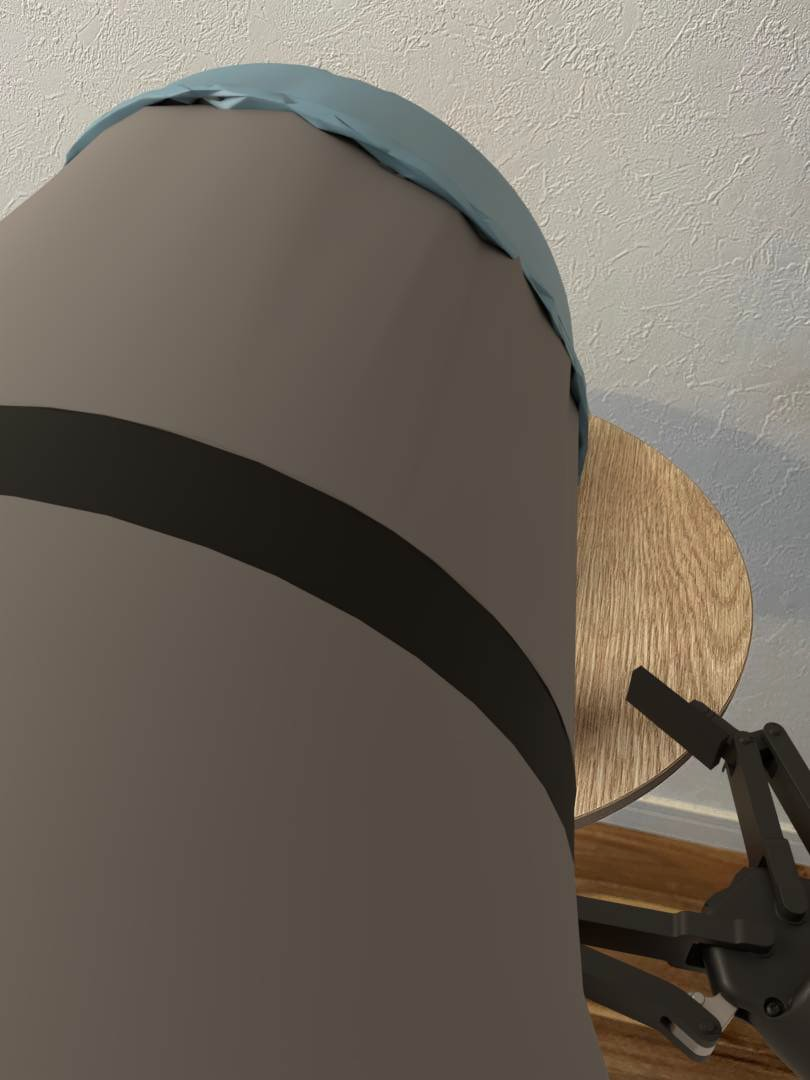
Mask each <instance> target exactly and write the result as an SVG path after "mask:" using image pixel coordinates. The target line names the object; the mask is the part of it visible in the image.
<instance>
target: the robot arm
mask: <svg viewBox="0 0 810 1080" xmlns="http://www.w3.org/2000/svg"><path fill="white" fill-rule="evenodd" d="M572 325H573V324H572V315H571V309H570V306H569V299H568V295H567V292H566V289H565V286H564V283H563V279H562V277H561V273H560V270H559V268H558V264H557V262H556V260H555V258H554V254H553V252H552V250H551V247H550V245H549V243H548V241H547V239H546V238H545V236H544V234H543V231H542V230H541V228H540V226H539V224H538V222H537V221H536V219H535V218H534V216H533V214H532V213H531V211H530V209H529V208H528V207H527V205H526V204H525V202H524V200H523V199H522V198H521V196H520V195H519V194H518V193H517V191H516V190H515V188H514V187H513V186H512V185H511V184H510V182H509V181H508V180H507V179H506V178H505V176H503V174H502V173H501V172H500V170H499V169H498V168H496V166H495V165H493V163H492V162H491V161H489V159H488V158H487V157H486V156H485V155H484V154H483V153H482V152H481V151H480V150H479V149H478V148H477V147H475V146H474V145H473V143H471V142H470V141H469V140H467V138H465V137H464V136H463V135H462V134H461V133H459V132H458V131H457V130H455V129H454V128H452V127H451V126H450V125H448V124H447V123H446V122H445V121H443V120H441V119H440V118H439V117H437V116H436V115H434V114H432V113H431V112H429V111H427V110H426V109H424V108H423V107H422V106H419V104H416V103H414V102H412V101H411V100H409V99H407V98H406V97H404V96H402V95H400V94H397V93H395V92H393V91H389V90H385V89H383V88H380V87H378V86H375V85H373V84H371V83H368V82H367V81H363V80H361V79H357V78H352V77H347V76H342V75H338V74H335V73H332V72H330V71H329V70H327V69H325V68H319V67H314V66H309V65H304V64H294V63H283V62H282V63H281V62H253V63H252V62H250V63H240V64H231V65H226V66H221V67H215V68H210V69H207V70H203V71H199V72H196V73H192V74H190V75H187V76H185V77H182V78H180V79H177V80H175V81H172V82H170V83H168V84H166V85H165V86H163V87H161V88H156V89H153V90H148V91H145V92H142V93H140V94H137V95H135V96H133V97H131V98H128V99H126V100H123V101H121V102H120V103H119V104H117V105H116V106H114V107H113V108H111V109H110V110H108V111H107V112H105V113H104V114H102V115H101V116H99V117H98V118H97V119H95V120H94V121H93V122H92V123H90V125H89V126H88V127H87V128H86V129H85V130H84V131H83V132H82V133H81V135H80V136H78V138H77V140H75V142H74V144H73V145H72V146H71V147H70V149H69V150H68V151H67V152H66V154H65V162H64V164H63V166H62V168H61V169H60V170H59V171H58V172H57V174H55V175H54V176H53V177H52V178H51V179H49V180H48V181H47V182H46V183H45V184H43V186H41V187H40V188H38V190H36V191H35V192H34V193H33V194H32V195H30V196H29V197H28V198H27V199H26V200H25V201H23V202H21V204H19V205H18V206H17V207H15V208H14V209H13V210H12V211H11V212H9V213H8V214H7V215H5V217H3V218H2V219H1V220H0V1080H611V1079H610V1075H609V1072H608V1068H607V1066H606V1063H605V1059H604V1055H603V1052H602V1050H601V1046H600V1043H599V1039H598V1035H597V1033H596V1030H595V1026H594V1022H593V1019H592V1016H591V1012H590V1009H589V1006H588V1002H587V1000H589V1001H591V1002H593V1003H596V1004H598V1005H601V1006H602V1007H604V1008H607V1009H608V1010H611V1011H613V1012H615V1013H618V1014H620V1015H622V1016H625V1017H627V1018H629V1019H632V1020H633V1021H636V1022H637V1023H640V1024H642V1025H644V1026H647V1027H649V1028H650V1029H653V1030H656V1031H657V1032H659V1033H660V1034H661V1035H662V1036H664V1038H666V1039H667V1040H668V1041H669V1042H670V1043H671V1044H673V1045H674V1046H675V1048H677V1049H678V1050H680V1051H681V1053H683V1054H684V1055H685V1056H686V1057H688V1058H689V1059H690V1060H691V1061H693V1062H695V1063H700V1064H701V1063H705V1062H707V1061H708V1060H709V1059H710V1057H711V1055H712V1053H713V1051H714V1050H715V1047H716V1045H717V1044H718V1042H719V1041H720V1038H721V1036H722V1034H723V1032H724V1030H725V1029H726V1027H727V1026H728V1025H729V1024H730V1022H731V1021H732V1019H734V1018H735V1019H736V1020H740V1021H742V1022H744V1023H746V1024H747V1025H749V1026H751V1027H752V1028H753V1030H755V1031H756V1032H757V1033H758V1034H759V1036H760V1037H761V1038H762V1040H763V1041H764V1043H765V1044H766V1045H767V1046H768V1048H769V1050H771V1051H772V1053H774V1054H775V1055H776V1056H777V1057H778V1058H779V1059H780V1060H781V1061H782V1062H783V1063H784V1064H785V1065H786V1066H787V1067H788V1068H789V1070H791V1071H792V1072H793V1073H794V1074H795V1075H796V1076H797V1077H798V1078H799V1079H800V1080H810V878H807V877H802V876H800V875H799V873H798V869H797V866H796V862H795V858H794V854H793V851H792V848H791V844H790V842H789V839H787V838H785V837H784V834H783V830H782V827H781V824H780V820H779V816H778V812H777V809H776V806H775V802H774V799H773V795H772V792H773V793H774V795H775V797H776V798H777V800H778V802H779V804H780V805H781V807H782V809H783V811H784V813H785V814H786V816H787V818H788V819H789V821H790V823H791V825H792V827H793V829H794V830H795V832H796V834H797V836H798V837H799V839H800V841H801V843H802V844H803V846H804V848H805V849H806V852H807V853H808V855H809V856H810V768H809V767H808V765H807V763H806V762H805V760H804V759H803V757H802V755H801V754H800V752H799V750H798V749H797V747H796V745H795V744H794V742H793V741H792V739H791V737H790V736H789V734H788V732H787V731H786V729H785V728H784V726H783V725H781V724H779V723H778V722H774V721H769V722H767V723H765V724H764V725H763V728H761V729H758V730H757V729H756V730H754V731H751V732H749V731H746V730H739V729H737V727H735V726H733V724H731V723H729V722H728V721H727V720H726V719H725V718H723V717H722V716H721V715H720V714H718V713H717V712H716V711H714V710H713V709H711V707H709V706H708V705H707V704H705V703H704V702H702V701H700V700H697V699H695V698H694V699H692V700H691V701H690V702H689V701H687V700H686V699H685V698H684V697H682V696H681V695H679V694H678V693H677V692H676V691H675V690H673V688H671V687H670V686H669V685H667V684H666V683H664V682H663V681H662V680H660V679H659V678H658V677H657V676H656V675H655V674H653V673H652V672H650V670H648V669H647V668H645V667H644V666H643V665H642V664H640V665H639V666H638V667H636V668H635V669H633V670H632V672H631V676H630V681H629V684H628V688H627V691H626V692H627V694H626V697H625V701H626V702H627V703H628V704H629V705H631V706H632V707H634V709H636V710H637V711H638V712H640V713H641V714H642V715H643V716H644V717H646V718H647V719H648V720H649V721H650V722H652V724H654V725H655V726H656V727H657V728H659V729H660V730H661V731H662V732H663V733H665V734H666V735H667V736H669V737H670V738H671V739H672V740H673V741H674V742H676V743H677V744H678V745H679V746H680V747H682V748H683V749H684V750H685V751H686V752H687V753H689V754H690V755H691V756H692V757H694V759H696V760H697V761H699V762H700V763H701V764H702V765H703V766H705V767H706V768H707V769H708V770H709V771H712V770H714V769H715V768H716V767H717V766H719V764H721V763H720V762H721V760H722V759H723V760H724V762H723V765H722V767H721V773H725V771H726V776H727V779H728V784H729V787H730V792H731V795H732V796H731V797H732V799H733V804H734V807H735V812H736V815H737V819H738V824H739V827H740V831H741V836H742V840H743V844H744V848H745V853H746V856H747V861H748V867H747V866H746V865H744V867H742V868H741V869H740V870H739V871H737V873H735V874H734V877H733V879H732V880H731V882H730V884H729V885H728V886H727V887H725V888H723V889H720V890H719V891H716V892H715V893H713V894H712V895H711V896H710V897H709V898H707V900H706V901H705V902H704V904H703V905H702V909H701V911H700V912H697V911H692V910H680V911H678V912H668V911H664V910H663V911H662V910H657V909H653V908H647V907H641V906H637V905H631V904H625V903H621V902H614V901H610V900H604V899H599V898H593V897H589V896H584V895H578V894H577V889H576V888H577V886H576V873H575V872H576V871H575V807H576V799H577V798H576V797H577V792H578V791H577V775H576V774H577V773H576V759H575V725H576V724H575V719H576V718H575V717H576V715H575V714H576V713H575V712H576V652H577V651H576V650H577V649H576V647H577V646H576V645H577V644H576V643H577V639H576V637H577V577H578V576H577V574H578V573H577V572H578V571H577V569H578V566H577V565H578V564H577V563H578V508H579V507H578V497H579V495H578V494H579V493H578V492H579V490H578V489H579V486H580V483H581V479H582V475H583V472H584V467H585V463H586V458H587V454H588V451H589V421H590V415H591V410H590V406H589V402H588V397H587V380H586V377H585V371H584V369H583V367H582V365H581V362H580V360H579V358H578V356H577V354H576V351H575V344H574V335H573V334H574V333H573V326H572ZM771 790H772V792H771ZM592 947H593V948H592ZM595 948H598V949H602V950H608V951H613V952H619V953H624V954H629V955H634V956H639V957H645V958H648V959H649V958H650V959H654V960H659V961H663V962H665V963H667V964H668V966H670V967H672V968H675V969H680V970H685V971H690V972H695V973H700V974H705V975H706V976H707V980H708V983H709V987H710V992H711V995H712V996H706V995H704V993H702V992H701V991H699V990H698V991H693V990H692V991H691V990H690V991H687V992H686V991H685V990H683V989H681V988H680V987H678V986H677V985H675V984H673V983H671V982H669V981H668V980H666V979H664V978H661V977H658V976H656V975H654V974H651V973H650V972H648V971H645V970H643V969H641V968H638V967H636V966H633V965H630V964H629V963H626V962H625V961H622V960H619V959H618V958H615V957H613V956H610V955H608V954H606V953H603V952H601V951H599V950H597V949H595Z"/></svg>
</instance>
